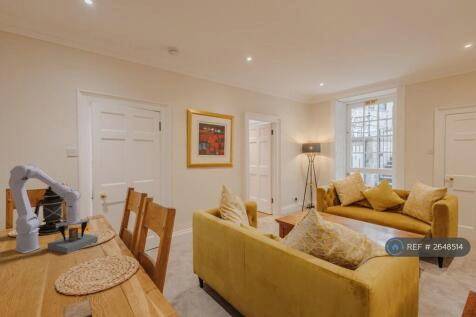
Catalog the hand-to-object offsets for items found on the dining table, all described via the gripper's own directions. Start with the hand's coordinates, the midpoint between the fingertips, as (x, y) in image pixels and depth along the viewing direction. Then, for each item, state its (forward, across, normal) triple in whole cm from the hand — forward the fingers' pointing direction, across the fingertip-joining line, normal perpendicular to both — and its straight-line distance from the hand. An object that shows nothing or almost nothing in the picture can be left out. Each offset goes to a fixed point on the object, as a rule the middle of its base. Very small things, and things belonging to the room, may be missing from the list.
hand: (73, 238), depth 123 cm
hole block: (+4, 0, 0) cm, 4 cm away
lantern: (+4, -9, +36) cm, 38 cm away
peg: (+4, 0, 0) cm, 4 cm away
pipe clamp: (+4, +3, +20) cm, 20 cm away
